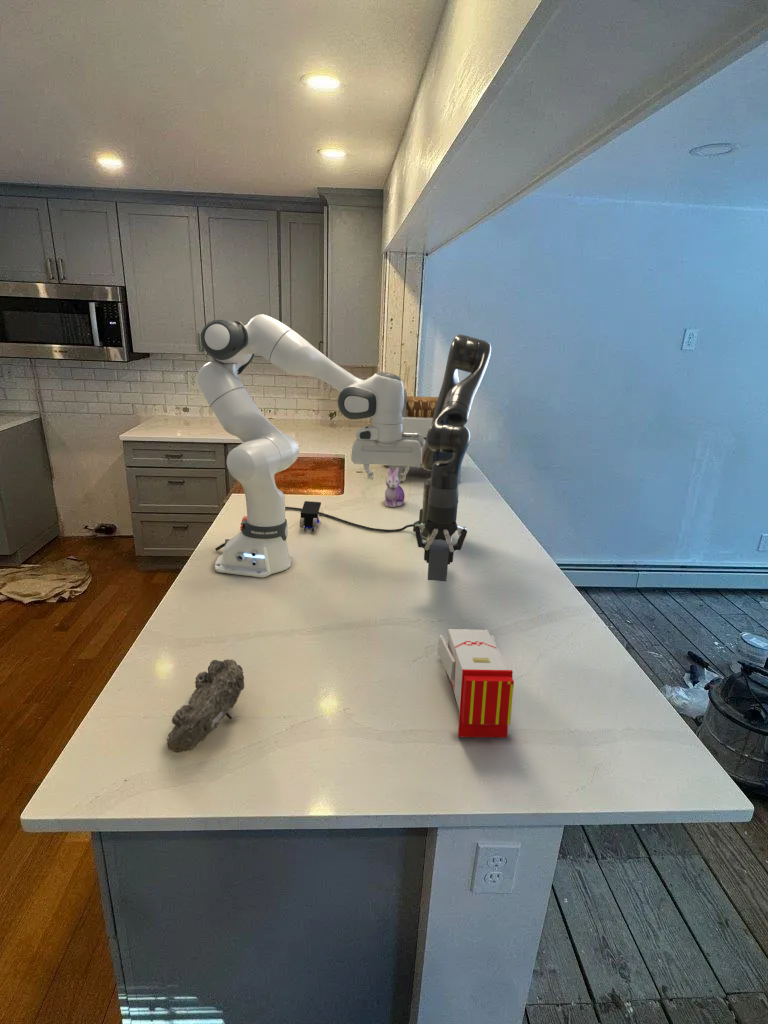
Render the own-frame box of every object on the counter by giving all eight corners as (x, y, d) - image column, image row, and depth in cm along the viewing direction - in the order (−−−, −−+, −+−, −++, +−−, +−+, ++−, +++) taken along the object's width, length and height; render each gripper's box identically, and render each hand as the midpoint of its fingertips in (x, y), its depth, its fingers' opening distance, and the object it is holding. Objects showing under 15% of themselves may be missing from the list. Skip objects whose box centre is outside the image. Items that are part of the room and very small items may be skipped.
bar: (446, 581, 149) (449, 551, 146) (427, 580, 149) (429, 550, 146) (445, 542, 174) (447, 516, 171) (429, 541, 174) (431, 515, 171)
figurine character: (318, 538, 196) (321, 518, 210) (317, 518, 193) (321, 499, 206) (298, 537, 196) (303, 517, 210) (298, 517, 193) (303, 499, 206)
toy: (488, 613, 130) (523, 677, 101) (484, 667, 133) (517, 744, 104) (435, 612, 130) (455, 676, 101) (432, 666, 133) (451, 743, 103)
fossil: (192, 660, 117) (244, 628, 112) (224, 691, 120) (276, 661, 115) (142, 746, 98) (202, 712, 93) (182, 779, 101) (242, 748, 96)
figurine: (389, 509, 224) (391, 472, 218) (377, 501, 232) (379, 465, 227) (410, 506, 228) (412, 470, 223) (398, 498, 236) (399, 463, 231)
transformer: (382, 463, 289) (386, 382, 275) (445, 464, 293) (451, 384, 279) (390, 482, 257) (394, 392, 243) (460, 483, 261) (468, 394, 247)
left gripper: (424, 431, 161) (422, 478, 166) (353, 428, 163) (353, 475, 167) (424, 435, 155) (422, 484, 160) (350, 433, 157) (350, 481, 162)
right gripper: (470, 499, 148) (464, 558, 153) (415, 495, 149) (411, 554, 154) (472, 508, 141) (465, 570, 146) (414, 504, 142) (410, 566, 147)
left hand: (386, 479), depth 164 cm, fingers open, 8 cm apart
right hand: (438, 562), depth 150 cm, fingers closed on bar, 5 cm apart
